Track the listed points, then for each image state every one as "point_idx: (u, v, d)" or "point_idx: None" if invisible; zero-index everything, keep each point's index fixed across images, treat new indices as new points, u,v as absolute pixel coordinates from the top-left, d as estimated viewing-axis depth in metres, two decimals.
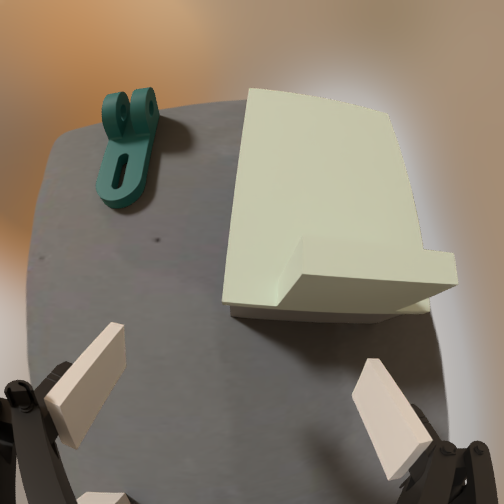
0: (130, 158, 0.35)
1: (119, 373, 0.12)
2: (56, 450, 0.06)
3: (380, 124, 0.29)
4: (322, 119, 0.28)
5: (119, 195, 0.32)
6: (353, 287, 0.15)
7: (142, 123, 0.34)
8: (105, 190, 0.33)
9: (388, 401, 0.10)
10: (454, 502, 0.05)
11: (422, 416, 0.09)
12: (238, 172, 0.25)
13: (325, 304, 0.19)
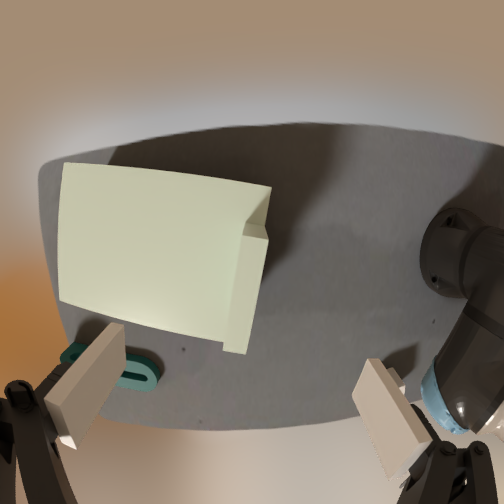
0: None
1: (119, 373, 0.12)
2: (56, 450, 0.06)
3: (79, 178, 0.28)
4: (83, 243, 0.29)
5: (152, 376, 0.43)
6: None
7: None
8: (149, 385, 0.43)
9: (388, 401, 0.10)
10: (454, 501, 0.05)
11: (422, 416, 0.09)
12: (147, 325, 0.31)
13: None
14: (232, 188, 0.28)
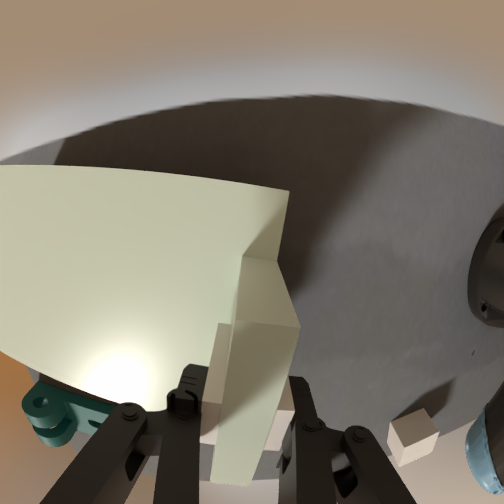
0: (92, 419, 0.30)
1: None
2: None
3: None
4: (10, 282, 0.16)
5: None
6: None
7: (58, 412, 0.27)
8: None
9: None
10: (350, 497, 0.06)
11: (306, 390, 0.11)
12: (104, 397, 0.19)
13: None
14: (217, 194, 0.15)
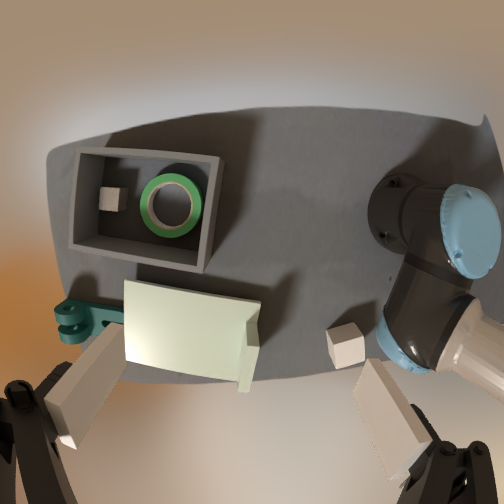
0: (105, 319, 0.51)
1: (119, 373, 0.12)
2: (56, 450, 0.06)
3: (138, 292, 0.48)
4: (144, 329, 0.50)
5: None
6: None
7: (81, 313, 0.48)
8: None
9: (388, 401, 0.10)
10: (454, 502, 0.05)
11: (422, 416, 0.09)
12: (187, 373, 0.52)
13: None
14: (238, 304, 0.49)
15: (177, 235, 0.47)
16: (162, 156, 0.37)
